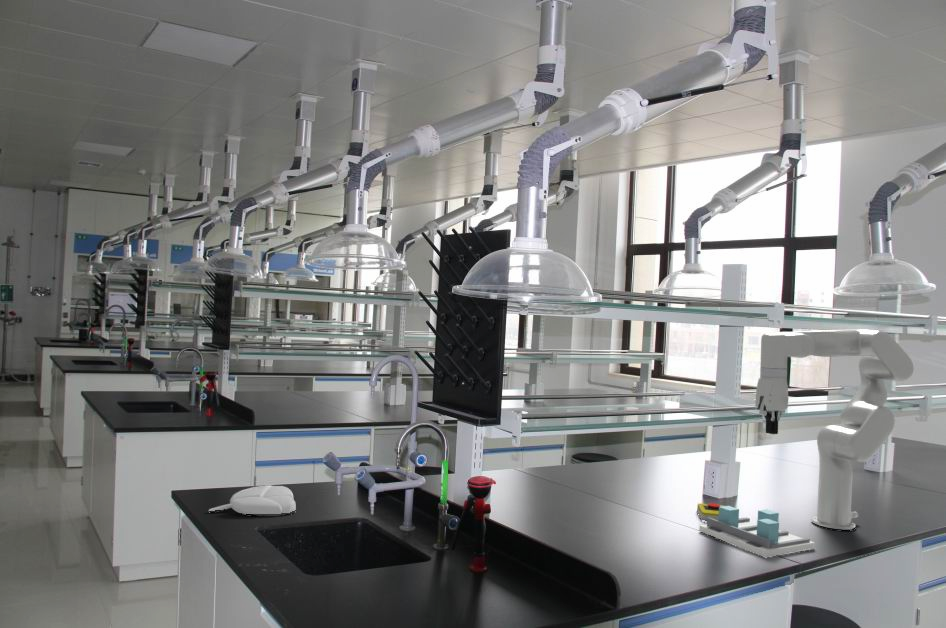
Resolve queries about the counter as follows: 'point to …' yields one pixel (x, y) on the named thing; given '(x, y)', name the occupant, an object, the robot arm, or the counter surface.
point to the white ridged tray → (755, 538)
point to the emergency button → (708, 511)
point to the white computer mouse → (261, 500)
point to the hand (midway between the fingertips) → (771, 433)
